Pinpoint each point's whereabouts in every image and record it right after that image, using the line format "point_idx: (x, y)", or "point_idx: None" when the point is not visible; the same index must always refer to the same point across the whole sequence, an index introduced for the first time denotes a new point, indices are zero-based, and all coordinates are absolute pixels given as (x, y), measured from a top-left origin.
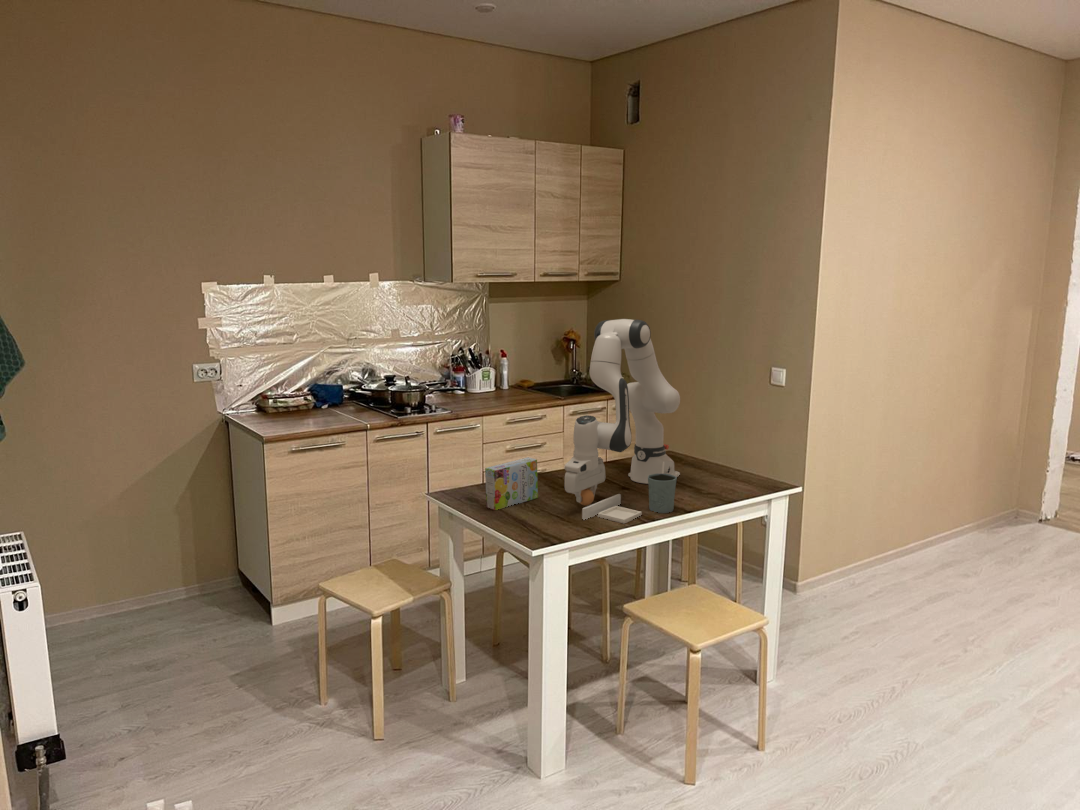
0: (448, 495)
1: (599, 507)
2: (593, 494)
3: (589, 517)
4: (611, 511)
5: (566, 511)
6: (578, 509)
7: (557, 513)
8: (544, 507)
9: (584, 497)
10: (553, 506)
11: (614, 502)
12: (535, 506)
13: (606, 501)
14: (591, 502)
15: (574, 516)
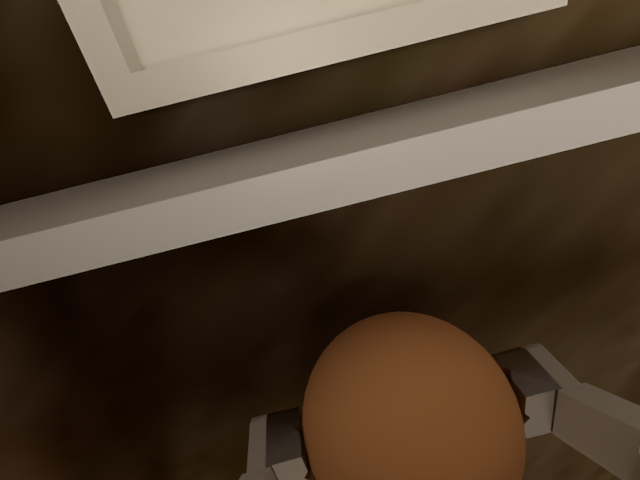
0: None
1: (454, 109)
2: (355, 406)
3: (621, 51)
4: (262, 38)
5: (553, 331)
6: (450, 323)
7: (633, 329)
8: (564, 447)
9: (508, 383)
10: None
11: (73, 200)
12: (578, 476)
13: (275, 166)
14: (383, 314)
15: (636, 199)
